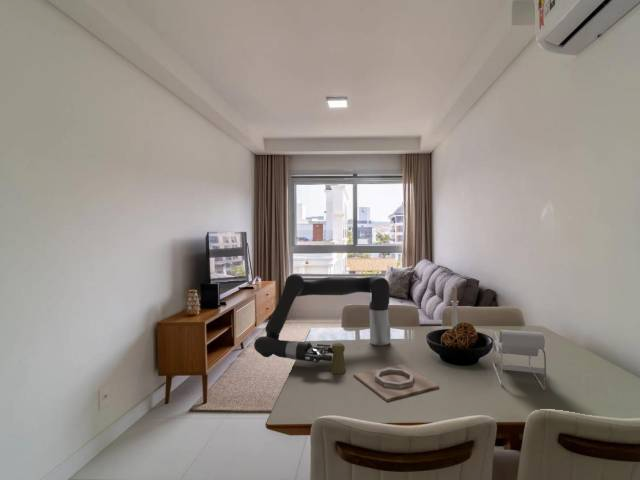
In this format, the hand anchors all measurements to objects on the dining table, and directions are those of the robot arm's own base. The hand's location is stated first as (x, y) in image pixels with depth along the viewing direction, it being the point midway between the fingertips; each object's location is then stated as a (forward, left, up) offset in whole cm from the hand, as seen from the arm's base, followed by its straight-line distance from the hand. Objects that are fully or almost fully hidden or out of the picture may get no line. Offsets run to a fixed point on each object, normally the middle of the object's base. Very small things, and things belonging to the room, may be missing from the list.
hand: (335, 354), depth 136 cm
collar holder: (-15, +19, -6) cm, 25 cm away
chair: (-59, +35, -7) cm, 69 cm away
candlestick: (-60, +4, -7) cm, 60 cm away
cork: (-1, +1, -7) cm, 7 cm away
